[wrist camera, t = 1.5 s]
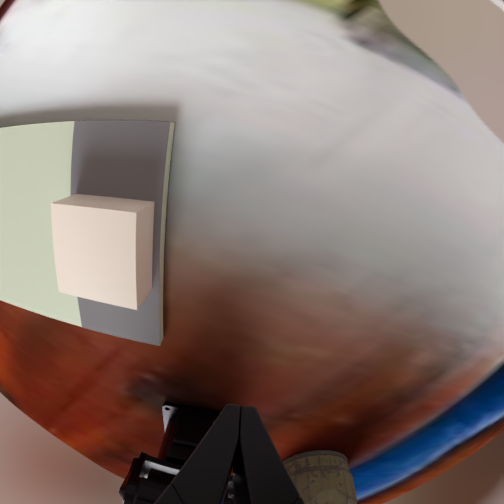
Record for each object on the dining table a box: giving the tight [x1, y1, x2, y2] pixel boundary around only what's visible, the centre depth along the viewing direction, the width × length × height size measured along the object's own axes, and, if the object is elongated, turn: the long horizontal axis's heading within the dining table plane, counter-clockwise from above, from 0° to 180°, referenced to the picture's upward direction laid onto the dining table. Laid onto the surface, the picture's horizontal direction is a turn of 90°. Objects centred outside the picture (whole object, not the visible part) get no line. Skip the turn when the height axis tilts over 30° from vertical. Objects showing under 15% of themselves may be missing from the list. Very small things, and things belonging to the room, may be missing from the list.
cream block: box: [51, 194, 155, 310], centre depth 18 cm, size 6×6×3 cm
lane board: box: [0, 121, 175, 345], centre depth 19 cm, size 16×24×1 cm, turn 82°
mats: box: [71, 120, 170, 346], centre depth 19 cm, size 16×24×1 cm, turn 82°
